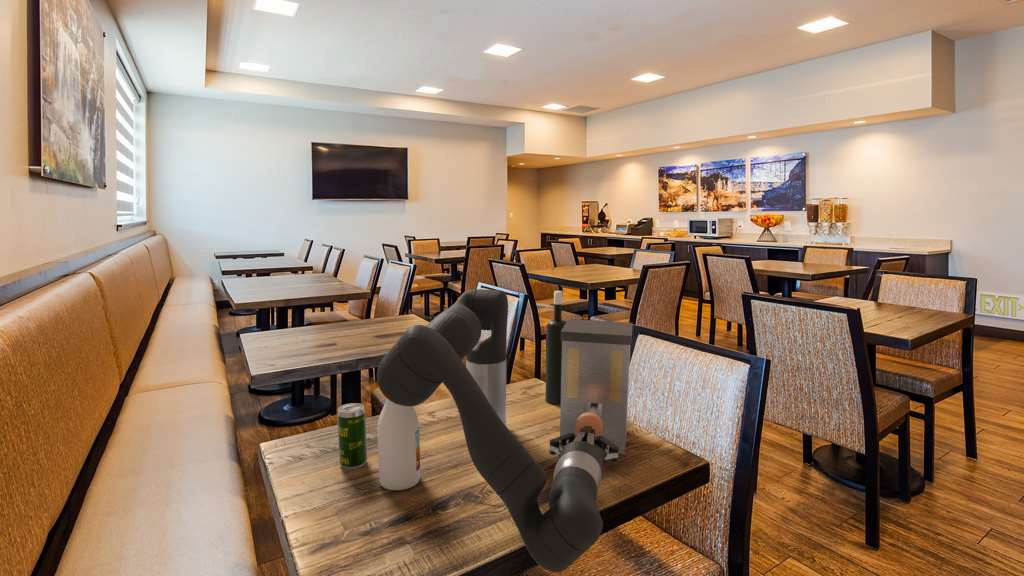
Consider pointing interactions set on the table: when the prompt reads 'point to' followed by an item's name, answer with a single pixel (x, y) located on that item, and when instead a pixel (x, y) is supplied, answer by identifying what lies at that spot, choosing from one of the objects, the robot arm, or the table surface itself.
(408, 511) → the table surface
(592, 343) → the dispenser
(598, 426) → the plunger
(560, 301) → the wine bottle
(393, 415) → the milk bottle
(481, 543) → the table surface
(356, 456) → the beer can
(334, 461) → the table surface
